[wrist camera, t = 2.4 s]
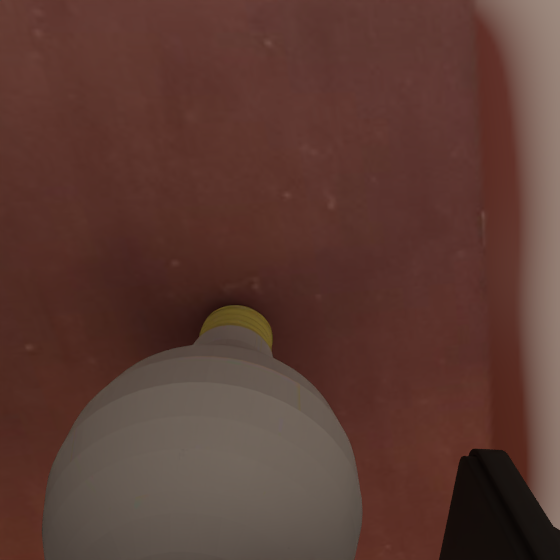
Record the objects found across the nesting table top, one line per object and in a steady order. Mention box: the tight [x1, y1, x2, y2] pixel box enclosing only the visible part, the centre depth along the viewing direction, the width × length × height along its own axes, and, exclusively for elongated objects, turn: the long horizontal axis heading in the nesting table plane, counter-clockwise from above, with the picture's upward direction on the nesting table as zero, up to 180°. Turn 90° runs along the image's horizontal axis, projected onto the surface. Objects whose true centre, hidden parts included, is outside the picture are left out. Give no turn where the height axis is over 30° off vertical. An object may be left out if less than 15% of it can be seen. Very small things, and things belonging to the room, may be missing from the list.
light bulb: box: [42, 305, 362, 560], centre depth 12 cm, size 5×5×10 cm
